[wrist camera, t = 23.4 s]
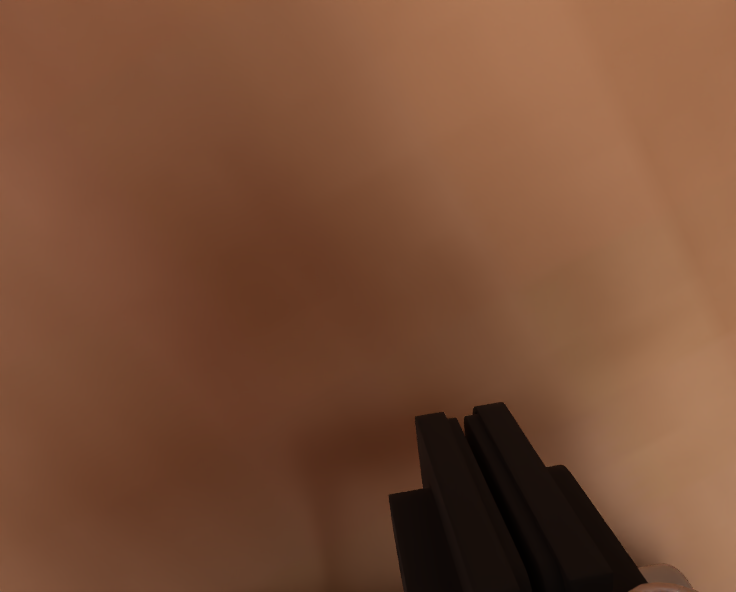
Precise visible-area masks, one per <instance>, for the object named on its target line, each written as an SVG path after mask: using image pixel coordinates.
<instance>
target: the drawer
mask: <svg viewBox="0 0 736 592" xmlns="http://www.w3.org/2000/svg"><path fill="white" fill-rule="evenodd" d="M638 569H639V570H640V572H641V573H642V575H643V576H644V578H645V579H646V580H647V582H648V583H653V582H663V583H675V584H678V585H681V586H685V587H688V588H691V589H693V588H692V586H691V584H690V583H689V582H688V580H687V579H686V578H685V577H684V575H683V574H682V573H681V572H680V571H679V570H677V569H676V568H675V567H673V566H671V565H668V564H657V565H650V566H644V567H638Z"/></svg>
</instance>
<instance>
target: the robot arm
mask: <svg viewBox="0 0 736 592" xmlns="http://www.w3.org/2000/svg"><path fill="white" fill-rule="evenodd" d="M415 426H416V434H417V443H418V451H419V459H420V468H421V476H422V484H423V489H418V490H412V491H407V492H401V493H395V494H389V503H390V510H391V517H392V524H393V531H394V537H395V543H396V549H397V555H398V561H399V567H400V573H401V578H402V584H403V589H404V592H698V591H696V590H694V589H691V588H688V587H685V586H681V585H678V584H675V583H663V582H653V583H648V582H647V580H646V579H645V578H644V576H643V575H642V573H641V572H640V570H639V569H638V568H637V566H636V565H635V563H634V562H633V560H632V559H631V558H630V556H629V555H628V553H627V552H626V551H625V549H624V548H623V546H622V545H621V543H620V542H619V541H618V539H617V538H616V536H615V535H614V534H613V532H612V531H611V529H610V528H609V526H608V525H607V524H606V522H605V521H604V519H603V518H602V516H601V515H600V514H599V512H598V511H597V509H596V508H595V507H594V505H593V504H592V502H591V501H590V499H589V498H588V497H587V495H586V494H585V492H584V491H583V490H582V488H581V487H580V485H579V484H578V482H577V481H576V480H575V478H574V477H573V475H572V474H571V472H570V471H569V470H568V469H567V468H566V467H565V466H563V465H557V466H551V467H545V465H544V464H543V462H542V461H541V459H540V458H539V456H538V454H537V453H536V451H535V450H534V448H533V447H532V445H531V444H530V442H529V441H528V439H527V437H526V436H525V434H524V433H523V431H522V430H521V428H520V427H519V425H518V423H517V422H516V420H515V419H514V417H513V416H512V414H511V413H510V411H509V410H508V408H507V406H506V405H505V404H504V403H503V402H499V403H493V404H487V405H481V406H475V407H474V408H473V415H468V416H465V417H464V429H465V435H464V433H463V431H462V428H461V426H460V424H459V422H458V420H457V418H450V419H447V417H446V415H445V413H444V412H439V413H433V414H427V415H421V416H415Z"/></svg>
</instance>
